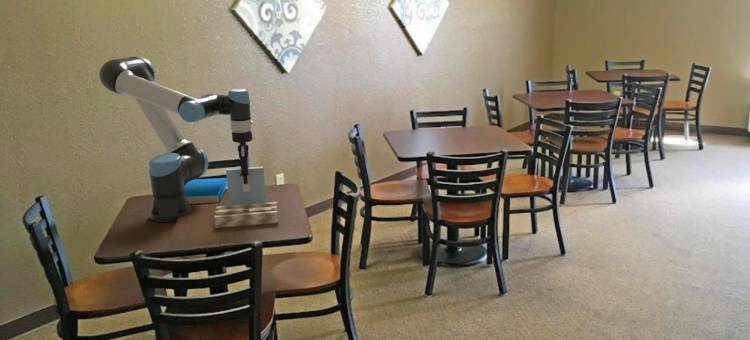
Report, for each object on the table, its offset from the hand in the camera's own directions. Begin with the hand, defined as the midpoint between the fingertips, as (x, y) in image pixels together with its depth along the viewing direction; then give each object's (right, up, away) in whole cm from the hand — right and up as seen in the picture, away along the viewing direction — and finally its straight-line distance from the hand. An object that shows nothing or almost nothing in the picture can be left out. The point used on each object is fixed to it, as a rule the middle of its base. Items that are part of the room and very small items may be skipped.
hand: (246, 190), depth 233 cm
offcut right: (+8, -11, -14) cm, 20 cm away
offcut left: (-2, -11, -16) cm, 20 cm away
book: (-23, -3, +24) cm, 34 cm away
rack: (+3, -12, -12) cm, 17 cm away
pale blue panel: (0, -7, +2) cm, 7 cm away
